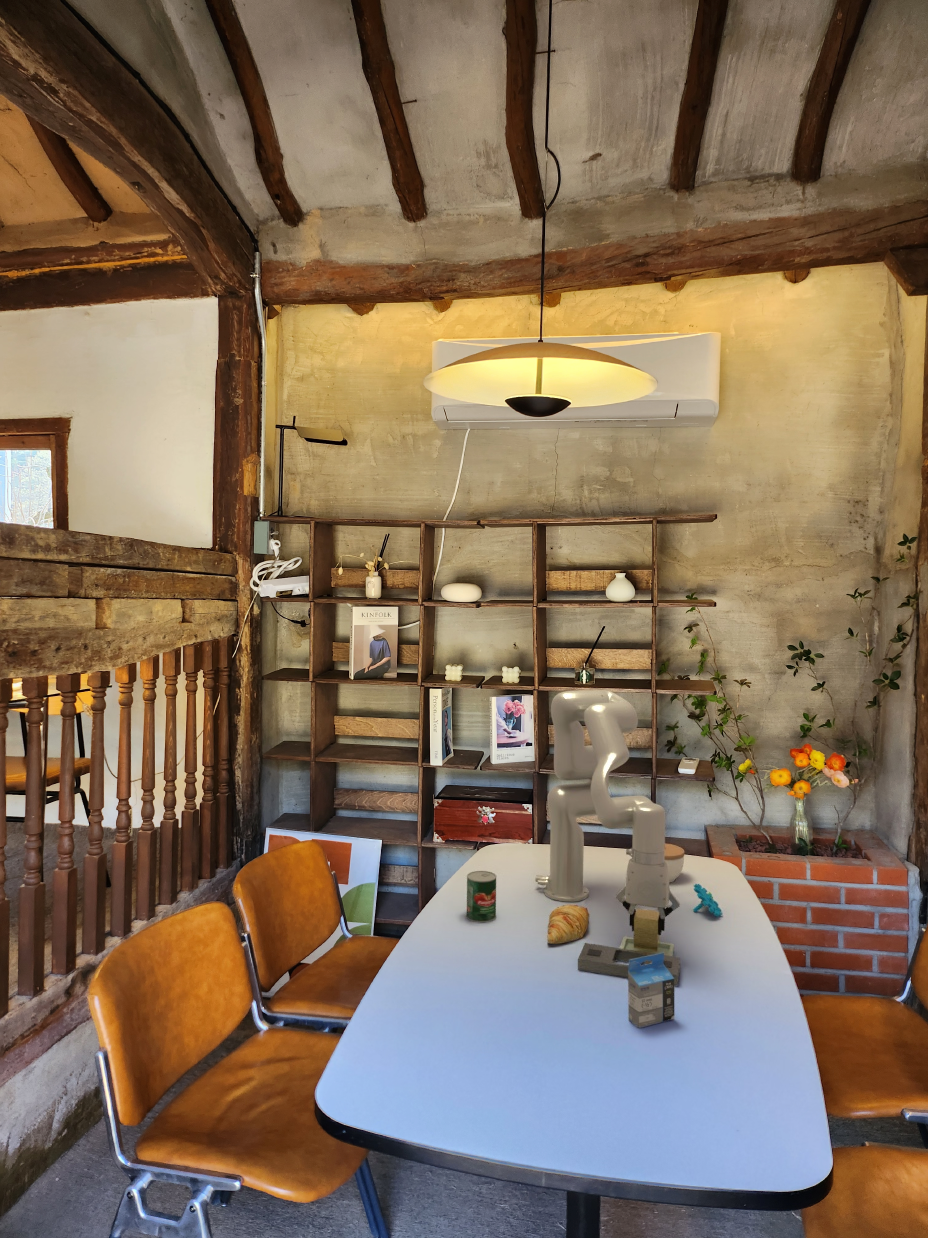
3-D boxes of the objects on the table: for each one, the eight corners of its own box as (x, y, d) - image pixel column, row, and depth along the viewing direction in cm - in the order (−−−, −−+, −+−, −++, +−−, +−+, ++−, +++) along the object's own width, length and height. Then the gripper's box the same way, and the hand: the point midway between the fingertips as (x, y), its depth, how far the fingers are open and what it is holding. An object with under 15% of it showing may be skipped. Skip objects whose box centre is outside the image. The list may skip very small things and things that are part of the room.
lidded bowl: (688, 886, 233) (689, 849, 233) (646, 886, 233) (646, 849, 233) (677, 872, 246) (678, 837, 245) (637, 871, 246) (638, 836, 246)
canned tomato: (484, 925, 204) (484, 883, 203) (460, 917, 208) (460, 876, 208) (501, 915, 210) (502, 875, 210) (478, 908, 215) (478, 868, 214)
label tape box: (639, 1029, 155) (640, 967, 155) (626, 1019, 159) (627, 959, 158) (675, 1020, 158) (676, 960, 158) (662, 1010, 162) (663, 951, 162)
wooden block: (633, 948, 186) (634, 917, 186) (636, 938, 192) (636, 908, 191) (657, 952, 185) (657, 920, 184) (659, 942, 190) (660, 911, 190)
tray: (619, 957, 186) (619, 950, 186) (623, 943, 194) (623, 936, 194) (671, 965, 182) (671, 958, 182) (673, 950, 190) (673, 944, 190)
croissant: (560, 964, 190) (574, 939, 188) (527, 937, 194) (541, 912, 192) (593, 931, 208) (607, 908, 206) (562, 907, 212) (575, 884, 210)
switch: (577, 970, 180) (577, 958, 179) (584, 953, 188) (585, 942, 188) (677, 986, 172) (677, 974, 172) (679, 968, 181) (680, 957, 181)
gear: (721, 917, 206) (694, 885, 210) (703, 931, 208) (677, 899, 211) (726, 909, 216) (701, 878, 220) (710, 921, 217) (685, 891, 221)
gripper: (609, 856, 187) (608, 932, 187) (684, 865, 181) (682, 943, 182) (614, 847, 194) (613, 920, 194) (686, 855, 188) (684, 930, 189)
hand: (646, 930), depth 188 cm, fingers closed on wooden block, 5 cm apart
